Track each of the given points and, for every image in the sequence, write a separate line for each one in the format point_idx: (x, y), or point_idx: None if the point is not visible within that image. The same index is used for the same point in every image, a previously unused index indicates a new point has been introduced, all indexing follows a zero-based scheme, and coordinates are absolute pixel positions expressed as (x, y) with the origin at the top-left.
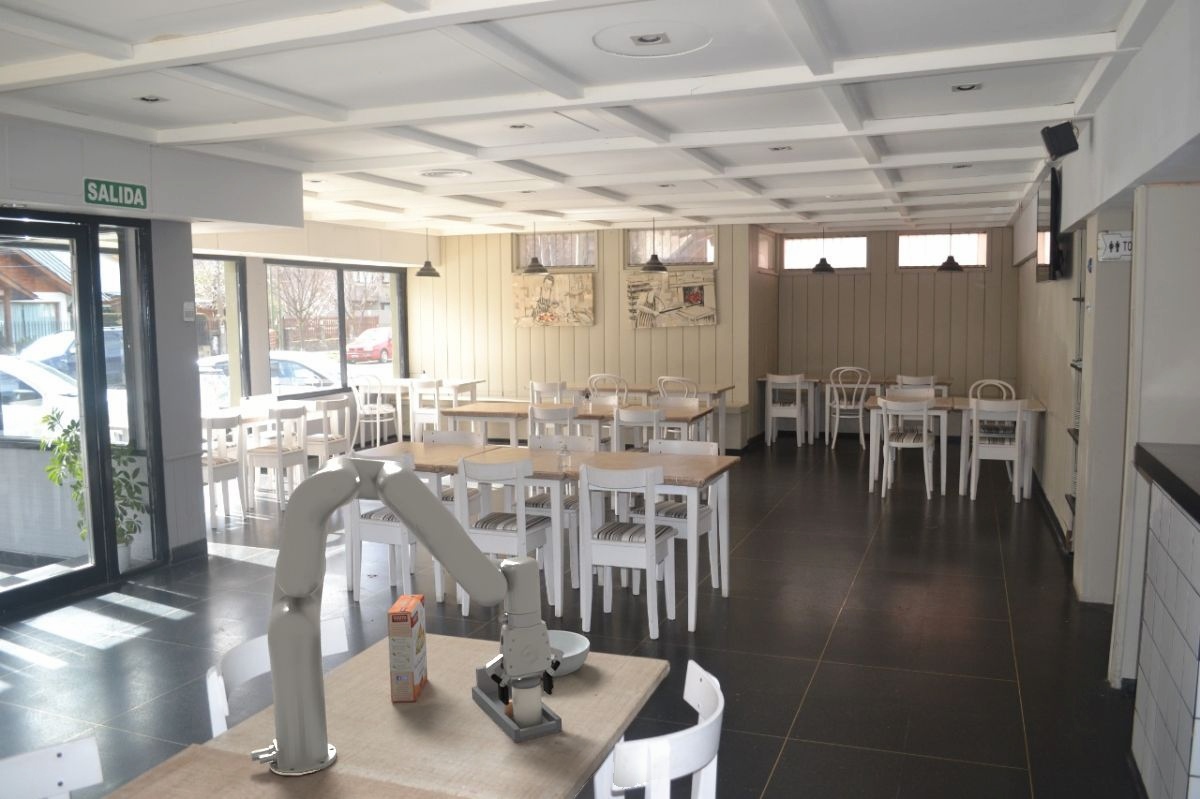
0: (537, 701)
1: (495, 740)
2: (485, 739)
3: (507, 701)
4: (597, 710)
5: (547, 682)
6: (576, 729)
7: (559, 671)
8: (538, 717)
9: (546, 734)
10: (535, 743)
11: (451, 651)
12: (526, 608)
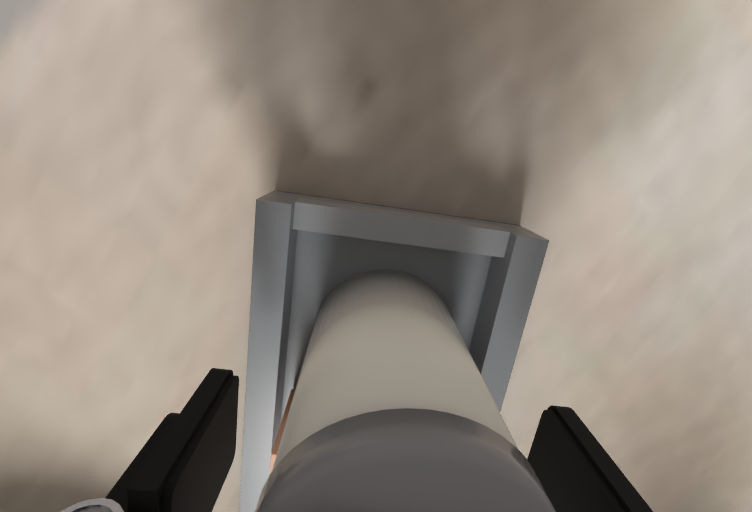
0: (362, 334)
1: (565, 299)
2: (589, 333)
3: (571, 420)
4: (13, 275)
5: (199, 459)
6: (204, 156)
7: None
8: (360, 290)
9: (358, 203)
10: (452, 154)
11: None
12: None
